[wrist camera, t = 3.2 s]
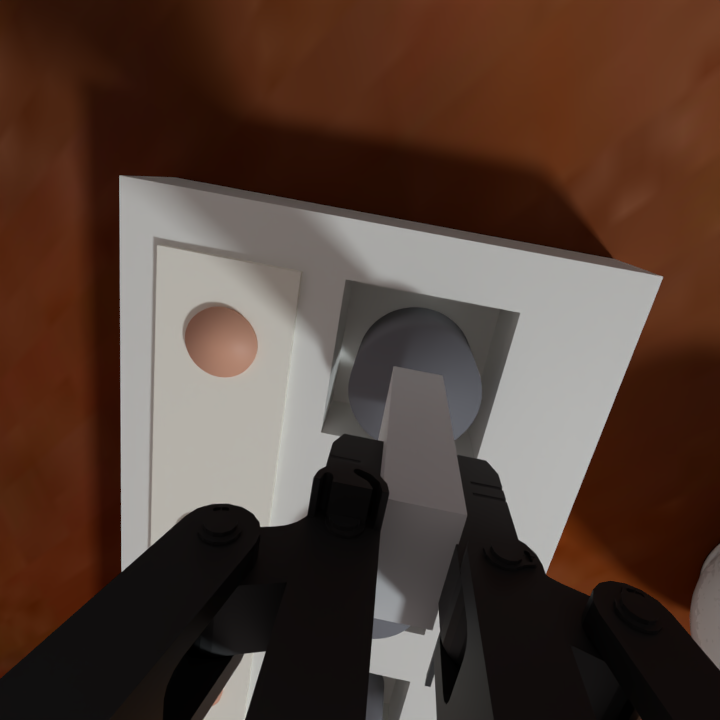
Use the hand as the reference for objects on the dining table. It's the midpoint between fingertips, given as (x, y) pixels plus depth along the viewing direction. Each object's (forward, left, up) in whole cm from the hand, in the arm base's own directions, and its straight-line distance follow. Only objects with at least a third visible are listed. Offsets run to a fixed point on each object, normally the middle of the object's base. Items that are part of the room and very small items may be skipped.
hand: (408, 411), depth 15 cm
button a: (0, 0, -4) cm, 4 cm away
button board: (+2, +9, -7) cm, 11 cm away
